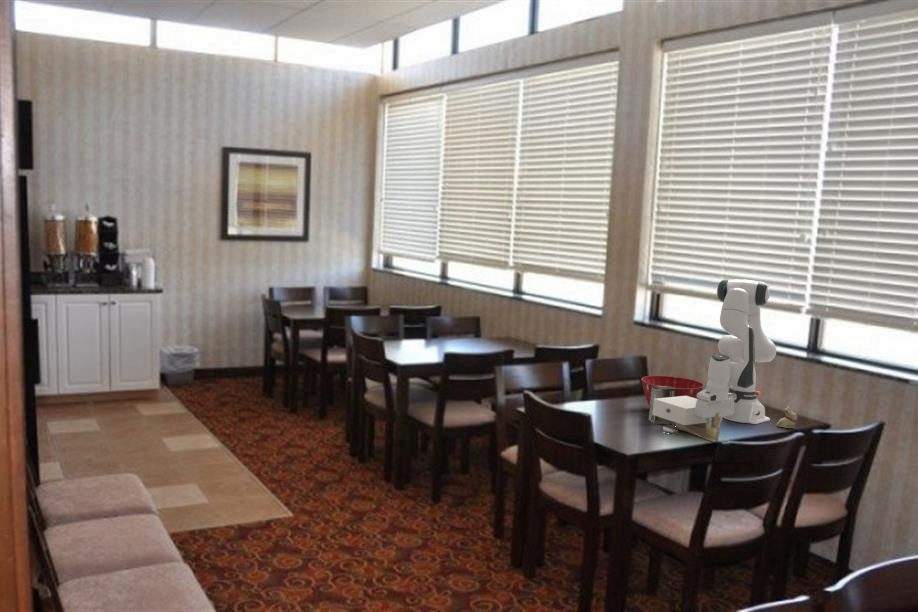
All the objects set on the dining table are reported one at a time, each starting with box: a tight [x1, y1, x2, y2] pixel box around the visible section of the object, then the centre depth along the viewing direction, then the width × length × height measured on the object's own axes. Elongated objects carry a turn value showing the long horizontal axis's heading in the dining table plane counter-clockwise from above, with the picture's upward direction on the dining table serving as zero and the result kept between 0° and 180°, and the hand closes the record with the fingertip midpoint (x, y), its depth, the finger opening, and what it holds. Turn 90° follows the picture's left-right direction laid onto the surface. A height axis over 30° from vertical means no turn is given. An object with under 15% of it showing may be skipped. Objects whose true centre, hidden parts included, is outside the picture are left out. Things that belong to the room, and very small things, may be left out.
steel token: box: [662, 424, 679, 435], centre depth 348 cm, size 6×6×2 cm
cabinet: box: [652, 396, 707, 429], centre depth 350 cm, size 21×18×13 cm
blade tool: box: [676, 413, 721, 443], centre depth 345 cm, size 3×22×12 cm, turn 32°
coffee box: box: [648, 386, 676, 425], centre depth 363 cm, size 9×6×16 cm
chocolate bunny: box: [775, 406, 798, 429], centre depth 370 cm, size 6×8×10 cm
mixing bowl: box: [640, 375, 704, 407], centre depth 382 cm, size 28×28×16 cm
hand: (713, 426), depth 338 cm, fingers closed on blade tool, 3 cm apart
